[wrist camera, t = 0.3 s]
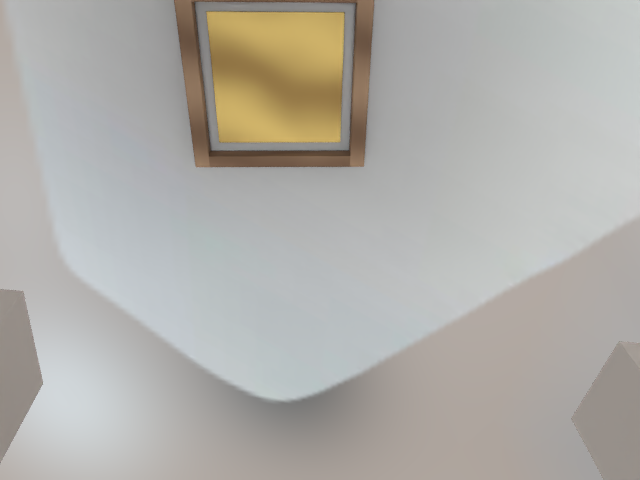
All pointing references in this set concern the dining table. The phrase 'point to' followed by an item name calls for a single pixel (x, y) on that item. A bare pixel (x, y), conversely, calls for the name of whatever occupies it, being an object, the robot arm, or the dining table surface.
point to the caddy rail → (276, 83)
